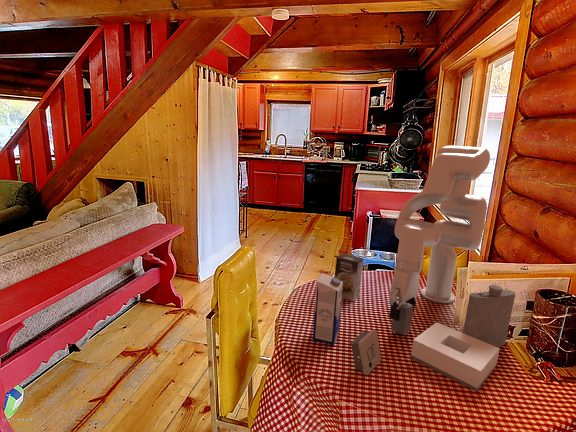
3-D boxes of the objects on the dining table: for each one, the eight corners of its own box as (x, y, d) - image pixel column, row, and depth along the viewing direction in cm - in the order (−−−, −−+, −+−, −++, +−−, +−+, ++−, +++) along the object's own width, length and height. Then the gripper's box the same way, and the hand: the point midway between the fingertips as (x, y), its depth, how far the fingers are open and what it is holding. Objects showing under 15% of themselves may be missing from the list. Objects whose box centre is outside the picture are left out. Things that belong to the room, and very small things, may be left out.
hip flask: (499, 339, 115) (510, 281, 110) (509, 346, 111) (522, 287, 106) (458, 345, 110) (468, 285, 106) (467, 352, 106) (479, 291, 102)
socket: (433, 339, 113) (436, 322, 111) (495, 367, 100) (499, 348, 99) (410, 358, 103) (413, 339, 101) (476, 391, 90) (480, 371, 89)
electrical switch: (366, 377, 94) (366, 345, 92) (349, 370, 97) (349, 339, 95) (381, 361, 101) (381, 330, 99) (364, 355, 104) (365, 325, 102)
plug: (397, 327, 119) (401, 300, 116) (409, 333, 116) (413, 305, 113) (390, 332, 116) (394, 304, 113) (403, 338, 113) (406, 309, 110)
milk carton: (318, 329, 116) (322, 272, 111) (338, 333, 113) (343, 275, 109) (312, 340, 109) (316, 280, 104) (333, 345, 107) (338, 284, 102)
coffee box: (332, 295, 140) (335, 257, 137) (339, 289, 146) (342, 252, 142) (354, 301, 136) (357, 262, 132) (360, 295, 141) (363, 257, 137)
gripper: (411, 255, 119) (404, 302, 122) (383, 266, 107) (377, 318, 110) (432, 262, 113) (425, 311, 117) (406, 274, 102) (398, 328, 105)
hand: (401, 314), depth 114 cm, fingers open, 9 cm apart
